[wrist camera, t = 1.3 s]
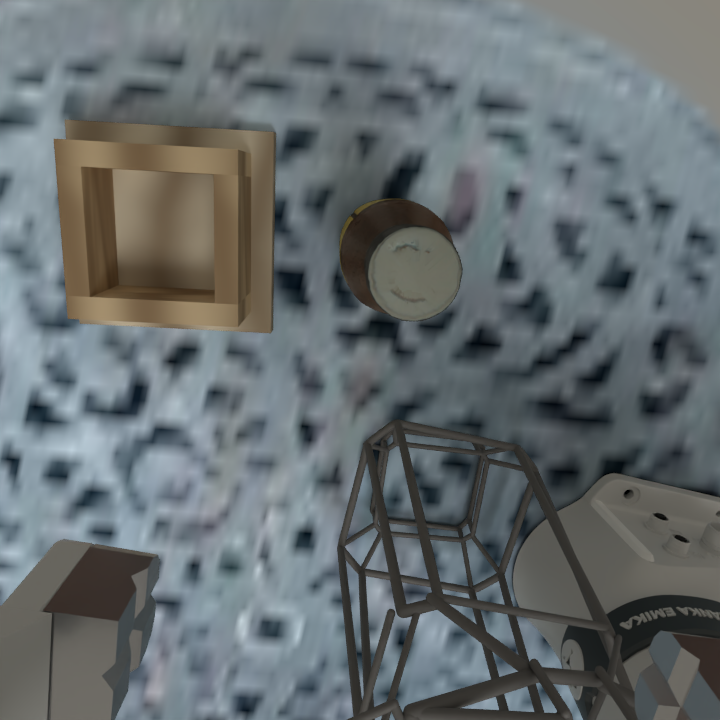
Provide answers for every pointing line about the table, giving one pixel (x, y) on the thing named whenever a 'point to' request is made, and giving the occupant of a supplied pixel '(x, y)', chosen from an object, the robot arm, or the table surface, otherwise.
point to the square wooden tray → (167, 225)
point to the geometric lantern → (444, 712)
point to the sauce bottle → (400, 259)
